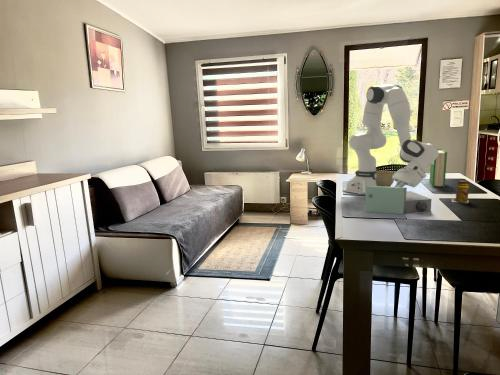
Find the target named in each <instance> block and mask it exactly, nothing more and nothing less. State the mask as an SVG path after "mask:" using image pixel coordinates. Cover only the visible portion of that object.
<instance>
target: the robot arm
mask: <svg viewBox="0 0 500 375" xmlns="http://www.w3.org/2000/svg"><path fill="white" fill-rule="evenodd" d="M386 104H387V108H388V112H389V116H390V117H391V119H392V121H393V124H394V127H395V129H396V134H397V136H398V140H399V143H400V144H399V145H400V151H399V157H400V160H401V161H403V162H404V163H406V166H404V167H403V168H399V169H398V170H397V171H395V172H396V173H395V174H394V175H393V176H392V178H393V179H394V182H396V183H395V185H394V186H393V187H404V188H405V187H406V186H409V187H411V188H416V187H417V186H419V184H421V182H422V181H423V179H425V178H426V177H427V174H426V173H425V171H426V170H427V168H428V167H430V166H431V164H432V163H433V162H434V160H435V159H436V158H437V156H438V150H437V149H438V148H437V147H436V145H434V144H432V143H425V142H421V141H418V140H417V139H413V138H412V136H411V133H410V121H411V114H412V113H411V112H412V111H411V105H410V103H409V99H408V96H407V94H406V93H405V91H404V88H403V87H402V86H400V85H397V84H381V85H378V84H376V85H375V84H374V85H371V86H369V87H368V89H367V91H366V102H365V106H364V109H363V116H362V124H363V126H365V127H366V129H367V132H360V133H359V132H358V133H356V134H353V135H351V136H350V137H349V141H348V144H349V147H350V149H352V150H353V151H354V152H355V153H356V156H357V162H358V169H357V170H356V171H354V174H355V176H353V177H352V178H350V179H348V181H347V183H346V187H344V188H343V189H342V192H345V193H346V192H347V193H354V194H359V195H366V186H376V177H377V173H376V171H377V159H376V157H375V156H374V155H372V154H371V150H378V149H380V148H383V147H385V146H386V144H387V137H386V135H385V134H384V132H383V130H382V125H381V123H382V115H383V112H384V106H385V105H386Z"/></svg>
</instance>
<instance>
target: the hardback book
mask: <svg viewBox="0 0 500 375" xmlns="http://www.w3.org/2000/svg"><path fill="white" fill-rule="evenodd" d="M437 150H438V156H437V158H436V159H435V160H434V162H433V163H432V164H431V165H430V166H429V167H430V169H429V184H430V185H431V187H432V188H435V187H442V188H445V187H446V186H445V185H446V173H447V160H448V159H447V158H448V152H447V151H446V149H444V148H437Z"/></svg>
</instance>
